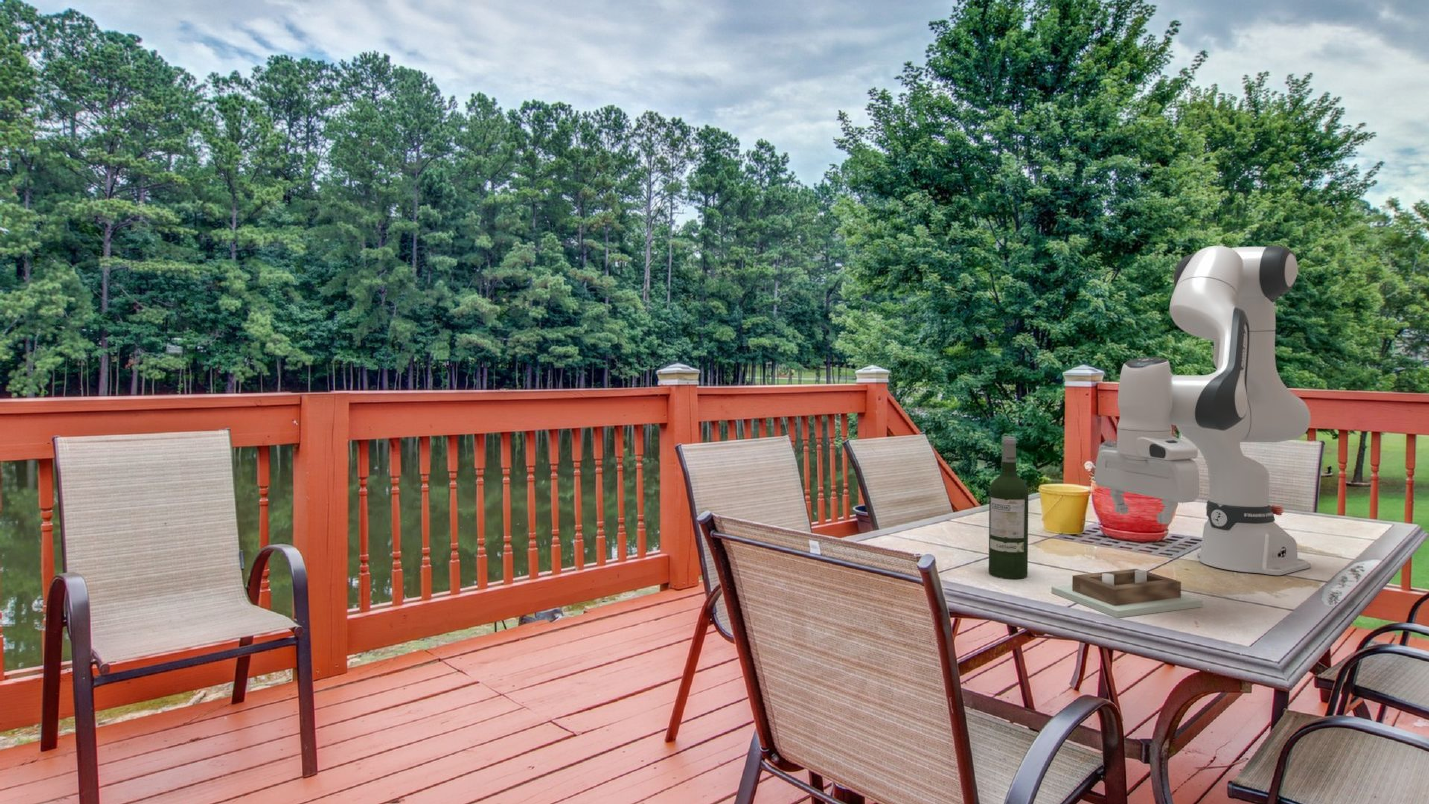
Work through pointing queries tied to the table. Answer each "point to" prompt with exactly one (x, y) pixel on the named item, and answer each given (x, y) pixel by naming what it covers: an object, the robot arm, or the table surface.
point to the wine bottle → (1008, 519)
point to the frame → (1126, 587)
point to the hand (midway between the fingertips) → (1142, 518)
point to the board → (1127, 609)
